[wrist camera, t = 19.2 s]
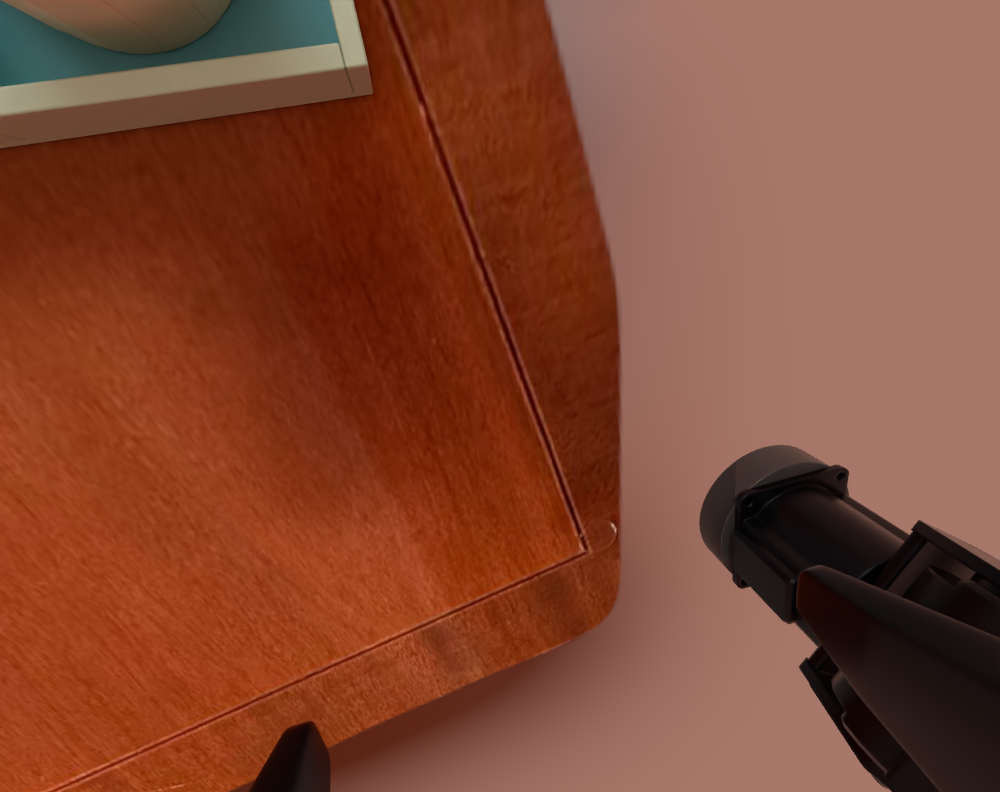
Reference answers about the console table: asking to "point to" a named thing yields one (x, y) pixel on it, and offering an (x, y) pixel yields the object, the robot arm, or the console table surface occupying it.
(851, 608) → the robot arm
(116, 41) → the jar
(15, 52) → the tray
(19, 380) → the console table surface
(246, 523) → the console table surface
